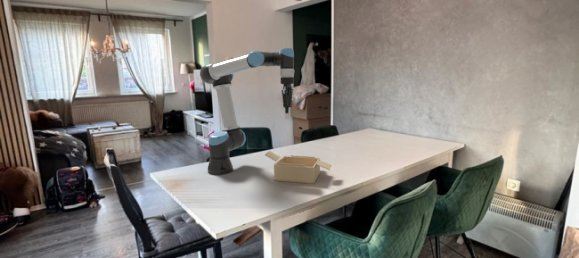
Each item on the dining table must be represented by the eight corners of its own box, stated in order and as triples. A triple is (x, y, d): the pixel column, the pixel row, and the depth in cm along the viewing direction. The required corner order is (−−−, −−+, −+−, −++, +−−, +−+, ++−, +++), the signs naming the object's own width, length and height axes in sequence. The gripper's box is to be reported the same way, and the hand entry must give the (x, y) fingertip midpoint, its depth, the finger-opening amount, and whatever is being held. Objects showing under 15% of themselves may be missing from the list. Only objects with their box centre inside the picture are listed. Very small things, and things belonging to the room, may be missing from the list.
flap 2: (280, 164, 169) (280, 164, 168) (276, 162, 162) (276, 163, 161) (305, 166, 165) (305, 166, 165) (302, 164, 158) (302, 165, 158)
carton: (274, 180, 172) (273, 164, 170) (284, 170, 189) (283, 156, 187) (313, 183, 166) (313, 167, 164) (320, 173, 183) (320, 158, 181)
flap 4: (329, 169, 167) (329, 170, 167) (331, 165, 175) (331, 165, 175) (316, 163, 169) (316, 164, 169) (319, 159, 176) (319, 160, 176)
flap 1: (276, 160, 175) (275, 161, 175) (280, 157, 182) (280, 157, 183) (264, 154, 176) (264, 154, 176) (269, 150, 184) (269, 151, 184)
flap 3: (293, 156, 194) (293, 157, 194) (290, 155, 187) (290, 156, 187) (315, 157, 190) (315, 158, 190) (313, 156, 183) (313, 157, 183)
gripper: (289, 77, 166) (290, 120, 171) (297, 76, 178) (297, 117, 183) (276, 77, 169) (277, 120, 173) (284, 76, 181) (285, 116, 185)
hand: (287, 118), depth 178 cm, fingers closed
